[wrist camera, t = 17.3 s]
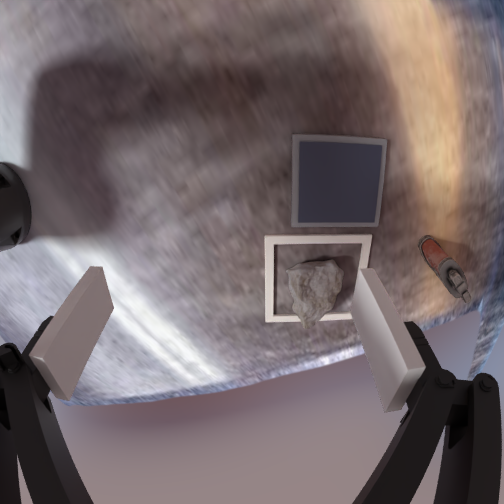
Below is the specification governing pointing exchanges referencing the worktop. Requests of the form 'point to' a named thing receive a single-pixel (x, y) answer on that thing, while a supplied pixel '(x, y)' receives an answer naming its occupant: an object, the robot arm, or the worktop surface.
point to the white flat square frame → (307, 239)
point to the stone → (314, 289)
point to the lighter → (444, 268)
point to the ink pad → (337, 180)
